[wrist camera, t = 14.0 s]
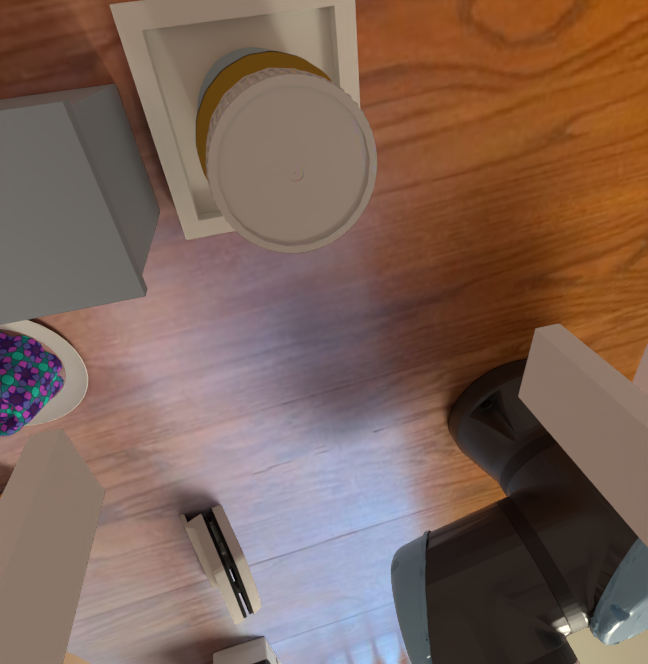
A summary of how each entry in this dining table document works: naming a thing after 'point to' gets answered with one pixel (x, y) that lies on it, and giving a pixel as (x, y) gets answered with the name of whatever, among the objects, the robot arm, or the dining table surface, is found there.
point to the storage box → (71, 204)
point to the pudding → (37, 377)
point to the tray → (200, 55)
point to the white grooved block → (223, 561)
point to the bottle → (283, 150)
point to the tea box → (247, 653)
